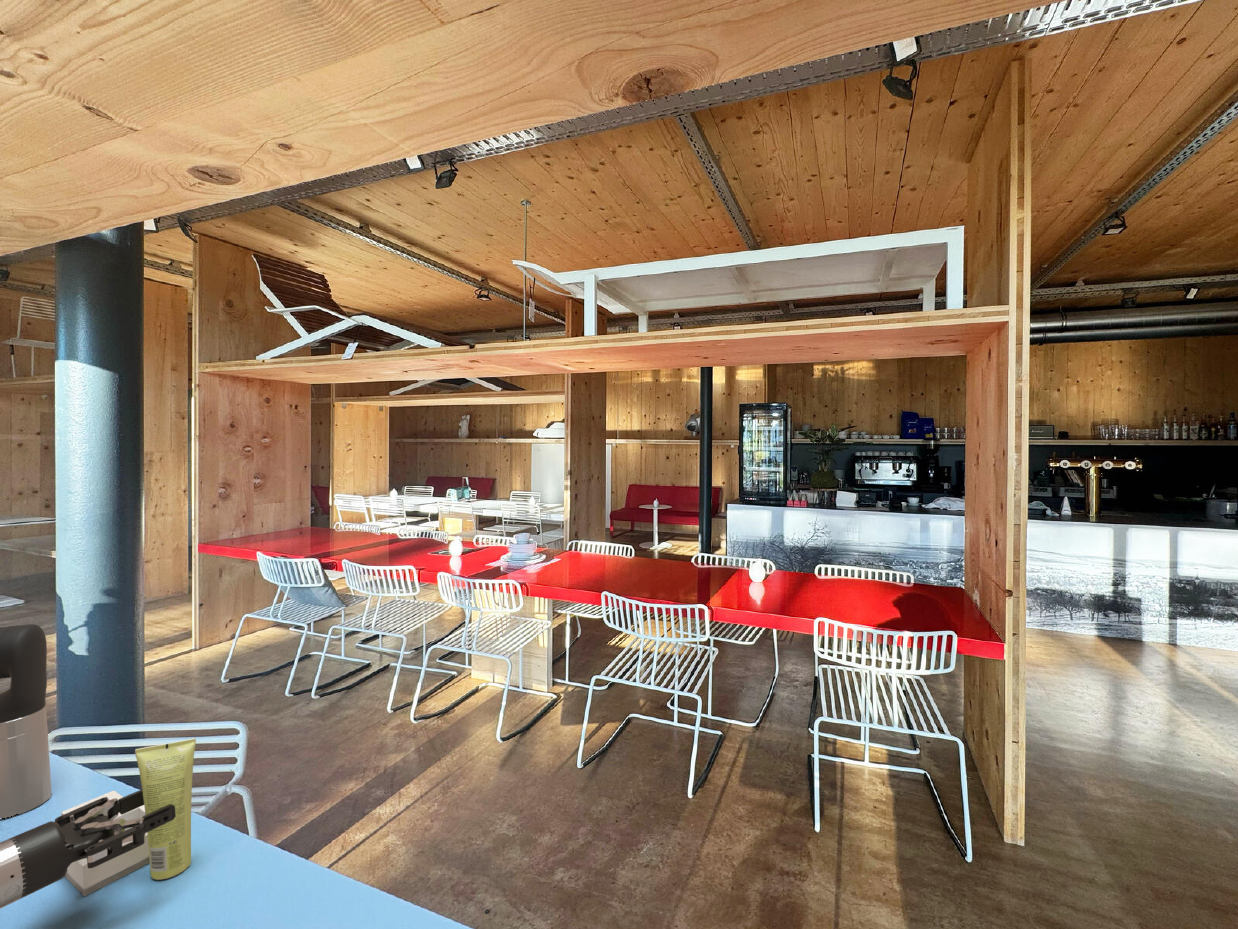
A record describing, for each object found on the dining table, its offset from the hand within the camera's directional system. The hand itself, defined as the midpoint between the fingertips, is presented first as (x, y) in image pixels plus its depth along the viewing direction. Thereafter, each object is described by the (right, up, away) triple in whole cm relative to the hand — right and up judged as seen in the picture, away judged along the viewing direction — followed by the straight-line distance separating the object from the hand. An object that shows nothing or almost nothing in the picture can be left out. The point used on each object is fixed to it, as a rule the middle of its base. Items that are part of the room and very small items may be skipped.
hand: (161, 802), depth 88 cm
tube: (+1, -11, +1) cm, 11 cm away
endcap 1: (-19, -11, +11) cm, 25 cm away
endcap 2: (-10, -11, +4) cm, 16 cm away
